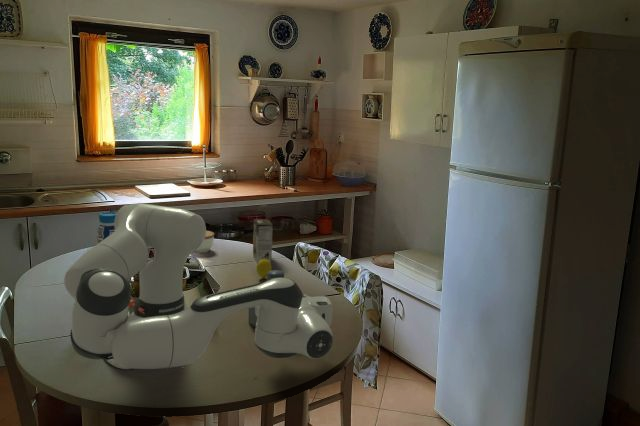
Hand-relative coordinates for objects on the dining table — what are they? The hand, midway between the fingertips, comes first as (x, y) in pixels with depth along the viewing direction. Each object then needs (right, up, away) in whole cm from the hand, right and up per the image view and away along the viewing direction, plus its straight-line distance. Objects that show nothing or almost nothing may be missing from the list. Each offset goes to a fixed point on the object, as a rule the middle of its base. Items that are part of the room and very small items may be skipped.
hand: (286, 298), depth 156 cm
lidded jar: (-41, +7, +82) cm, 92 cm away
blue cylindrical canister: (-72, +4, +61) cm, 94 cm away
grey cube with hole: (-5, -10, +14) cm, 18 cm away
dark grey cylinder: (-4, -4, +13) cm, 14 cm away
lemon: (-12, -1, +52) cm, 53 cm away
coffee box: (-15, +4, +75) cm, 76 cm away
